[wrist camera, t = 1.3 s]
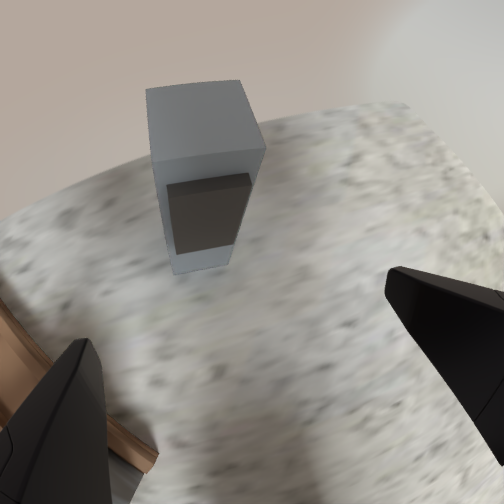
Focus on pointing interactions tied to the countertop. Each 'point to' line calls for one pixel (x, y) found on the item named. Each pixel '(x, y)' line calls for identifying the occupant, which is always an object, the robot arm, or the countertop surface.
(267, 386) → the countertop surface
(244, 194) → the slate finger
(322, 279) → the countertop surface
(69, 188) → the countertop surface
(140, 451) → the walnut rail
